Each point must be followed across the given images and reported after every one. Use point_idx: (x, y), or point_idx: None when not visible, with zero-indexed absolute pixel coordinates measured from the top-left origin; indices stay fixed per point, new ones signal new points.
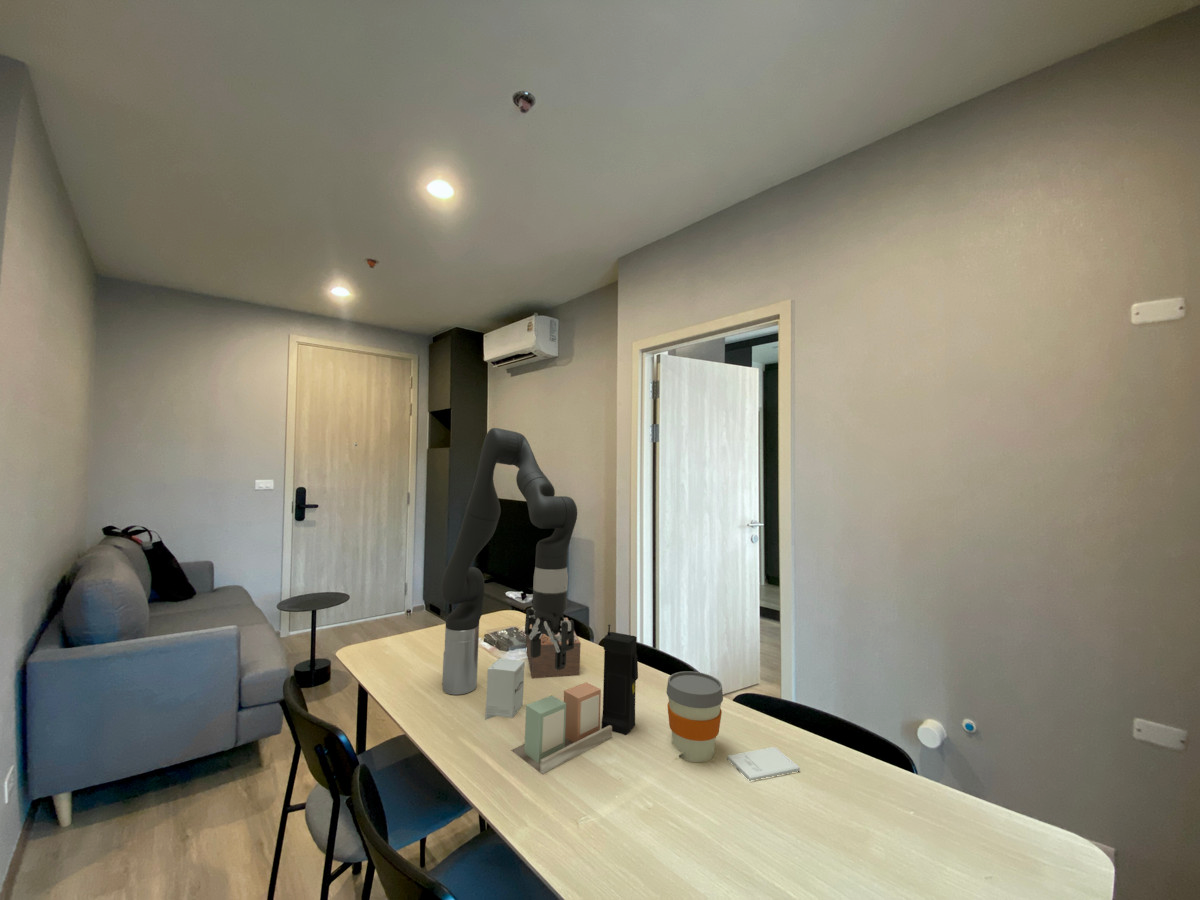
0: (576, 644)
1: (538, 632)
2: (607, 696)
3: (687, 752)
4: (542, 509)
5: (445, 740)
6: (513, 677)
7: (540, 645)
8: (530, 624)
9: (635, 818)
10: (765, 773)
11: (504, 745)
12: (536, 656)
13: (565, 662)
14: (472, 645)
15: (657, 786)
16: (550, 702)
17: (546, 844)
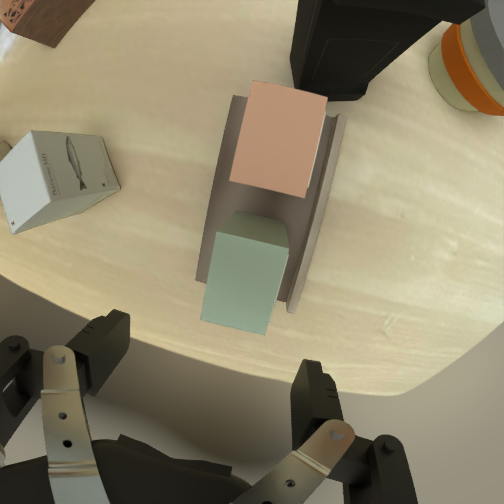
0: None
1: (90, 434)
2: (317, 67)
3: (471, 110)
4: None
5: (89, 295)
6: (59, 200)
7: (105, 338)
8: (13, 418)
9: (445, 282)
10: None
11: (162, 253)
12: (128, 331)
13: (335, 388)
14: None
15: (453, 201)
16: (244, 271)
17: (363, 374)
